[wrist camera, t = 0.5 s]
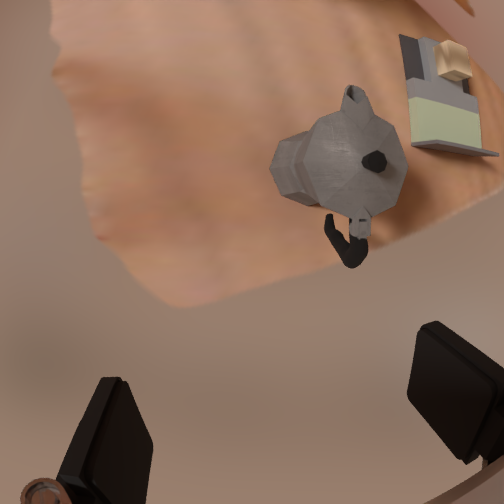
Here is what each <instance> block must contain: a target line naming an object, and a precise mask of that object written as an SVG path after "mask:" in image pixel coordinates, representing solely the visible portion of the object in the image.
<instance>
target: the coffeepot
mask: <svg viewBox="0 0 504 504" xmlns="http://www.w3.org/2000/svg"><path fill="white" fill-rule="evenodd" d="M269 169H270V171H271V173H272V175H273V178H274V181H275V183H276V185H277V187H278V189H279V191H280V194H281V196H284V197H286V198H289V199H291V200H294V201H296V202H299V203H301V204H304V205H306V206H310V205H313V204H317V203H319V204H320V205H321V206H323V207H325V208H328V209H330V210H332V211H335V212H337V213H339V214H342V215H344V216H346V217H348V218H349V238H350V243H348V242H347V241H346V240H345V239H344V236H343V234H342V233H341V232H340V231H338V230H336V229H335V225H334V220H333V214H327V215H326V219H325V225H324V231H325V234H326V235H327V237H328V238H329V240H330V242H331V244H332V245H333V247H334V248H335V250H336V251H337V253H338V254H339V256H340V258H341V260H342V261H343V263H344V265H345V266H347V267H348V268H356V267H357V266H359V265H360V264H361V263H362V261H363V260H364V259H365V258H366V256H367V254H368V242H367V236H370V235H371V217H373V216H375V215H377V214H379V213H381V212H383V211H385V210H387V209H389V208H391V207H393V206H395V205H396V203H397V200H398V197H399V194H400V191H401V188H402V185H403V182H404V179H405V176H406V173H407V170H408V163H407V160H406V157H405V155H404V152H403V149H402V146H401V144H400V141H399V138H398V136H397V133H396V130H395V128H394V126H393V125H392V124H390V123H388V122H387V121H385V120H383V119H381V118H380V117H378V116H376V115H375V114H374V112H373V109H372V107H371V104H370V102H369V100H368V97H367V96H366V94H365V92H364V90H362V89H361V88H359V87H357V86H353V85H348V86H347V87H346V88H345V92H344V96H343V101H342V105H341V109H340V111H338V112H335V113H332V114H329V115H326V116H324V117H321V118H319V119H318V120H317V121H316V122H315V124H314V125H313V126H312V128H311V129H310V130H309V131H305V132H302V133H300V134H297V135H295V136H292V137H290V138H287V139H285V140H282V141H280V142H279V145H278V147H277V150H276V152H275V154H274V158H273V160H272V163H271V166H270V168H269Z"/></svg>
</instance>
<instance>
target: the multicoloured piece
mask: <svg viewBox="0 0 504 504" xmlns="http://www.w3.org/2000/svg"><path fill="white" fill-rule="evenodd" d="M399 38H400V44H401V50H402V56H403V62H404V69H405V76H406V84H407V92H408V102H409V113H410V126H411V145H412V146H415V147H422V148H429V149H435V150H442V151H448V152H453V153H459V154H464V155H469V156H499V153H496V152H493V151H489V150H485V149H482V145H481V130H480V119H479V110H478V102H477V97H475V96H472V95H470V93H469V86H468V80H467V78H466V79H463V80H460V81H453V80H450V79H447V78H444V77H441V76H438V73H437V67H436V61H435V56H434V51H433V47H434V46H436V45H438V44H440V42H438V41H435V40H432V39H430V38H427V37H422V38H420V39H418V40H417V39H414V38H411V37H408V36H404V35H401V34H399Z"/></svg>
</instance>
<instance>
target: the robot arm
mask: <svg viewBox="0 0 504 504" xmlns="http://www.w3.org/2000/svg"><path fill="white" fill-rule="evenodd" d="M407 396H408V399H409V401H410V402H411V403H412V405H413V406H414V407H415V408H416V409H417V411H418V412H419V413H420V414H421V415H422V417H423V418H424V419H425V420H426V421H427V423H429V425H430V426H431V427H432V429H433V430H434V431H435V432H436V433H437V435H438V436H439V437H440V438H441V439H442V441H443V442H444V443H445V445H446V446H447V447H448V448H449V449H450V451H451V452H452V453H453V454H454V456H455V457H456V458H457V459H459V460H461V459H462V461H463V462H464V463H465V464H466V465H467V464H469V463H470V462H472V461H473V460H475V459H477V458H478V456H479V455H481V456H482V457H483V461H482V470H481V471H479V472H478V473H476V474H475V475H473V476H472V477H470V478H469V479H467V480H465V481H464V482H462V483H460V484H459V485H457V486H455V487H454V488H452V489H450V490H448V491H447V492H445V493H443V494H441V495H439V496H437V497H436V498H434V499H432V500H430V501H428V502H426V503H424V504H504V368H503V367H501V366H500V365H499V364H497V363H496V362H495V361H493V360H492V359H491V358H489V357H488V356H487V355H485V354H484V353H483V352H481V351H480V350H478V349H477V348H476V347H474V346H473V345H472V344H470V343H469V342H467V341H466V340H464V339H463V338H462V337H460V336H459V335H457V334H456V333H455V332H453V331H452V330H451V329H449V328H448V327H446V326H445V325H443V324H442V323H440V322H439V321H433V322H430V323H427V324H424V325H422V326H421V328H420V330H419V331H418V333H417V338H416V344H415V351H414V357H413V363H412V369H411V374H410V379H409V384H408V389H407ZM152 454H153V442H152V439H151V437H150V435H149V432H148V430H147V429H146V426H145V424H144V421H143V419H142V417H141V414H140V412H139V410H138V407H137V405H136V402H135V400H134V397H133V395H132V392H131V390H130V387H129V385H128V383H127V382H126V381H122V379H121V378H120V377H103V378H101V380H100V382H99V384H98V386H97V388H96V390H95V392H94V394H93V396H92V398H91V400H90V403H89V405H88V407H87V409H86V411H85V414H84V416H83V418H82V420H81V421H80V423H79V426H78V427H77V429H76V432H75V434H74V436H73V439H72V441H71V443H70V445H69V448H68V450H67V453H66V455H65V457H64V460H63V462H62V465H61V467H60V470H59V472H58V475H57V477H56V480H54V479H50V478H38V479H35V480H33V481H31V482H29V483H28V484H27V485H26V486H25V487H24V489H23V490H22V492H21V496H20V502H21V504H145V503H146V496H147V488H148V481H149V473H150V467H151V461H152Z"/></svg>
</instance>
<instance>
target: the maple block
mask: <svg viewBox="0 0 504 504" xmlns="http://www.w3.org/2000/svg"><path fill="white" fill-rule="evenodd" d="M433 51H434V56H435V61H436V67H437V73H438V76H441V77H444V78H447V79H450V80H453V81H460V80H463V79H466V78H470V77H472V72H471V66H470V61H469V56H468V52H467V48H466V47H464V46H462V45H460V44H457V43H455V42H453V41H450V40H446V41H444V42H442V43H440V44H438V45H436V46H434V47H433Z"/></svg>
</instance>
